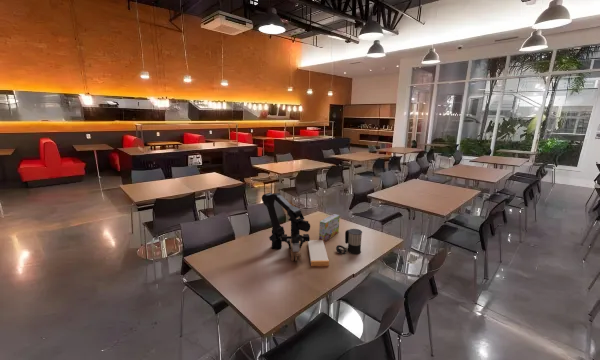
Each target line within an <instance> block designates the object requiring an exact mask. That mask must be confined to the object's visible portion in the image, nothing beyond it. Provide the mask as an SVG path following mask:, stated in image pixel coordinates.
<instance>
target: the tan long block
mask: <svg viewBox="0 0 600 360" xmlns="http://www.w3.org/2000/svg"><path fill="white" fill-rule="evenodd" d="M290 245H291V250H290V259H291V260H290V261H291V262H293V261H295V262H296V261H298V262H299V261H302V250H301V249H300V241H299V252H293V243H292V239H290Z"/></svg>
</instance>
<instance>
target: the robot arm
mask: <svg viewBox="0 0 600 360" xmlns="http://www.w3.org/2000/svg"><path fill="white" fill-rule="evenodd" d="M261 201H262V203H263V205H264V206H265V207H266V208H267V212H268V215H269V216H268V217H269V219H270V223H271V226H272V227H271V228H272V229H271V235H270V236H268V238H269V240H270V241H271V249H272V250H282V247H283V243H287V245H288V248H289V250H290V251H291V245H290V239H292V243H299V242H300V250H301V249H302V247H303V244H304V243H306V242H308V241H310V240H311V238H310V234H309V233H308V232H309V231H310V229H311V224H310V222H309V220H305V217H304V215H303V213H302V210H301V209H300V208H298V207H297V206H294V205H292V204H291V203H290V202H288V200H287V199H286V198H285V197H284V196H282V194H281V193H280V192H275V193H272V192H267V193H265V194H263V195H262V196H261ZM275 202H276V203H278V204H279V206H280V207H282V208H283V209H284V210H285V212H286V214H287V215H288V217H289V218H288V220H287V221H288V222H289V221H290V235H288V234H287V233H285V229H284V226H283V225H280V221H279V218H278V215H277V211H276V207H275ZM300 231H301V232H302V231H303V232H305V233H303V234H300V233H301V232H300Z"/></svg>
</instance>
